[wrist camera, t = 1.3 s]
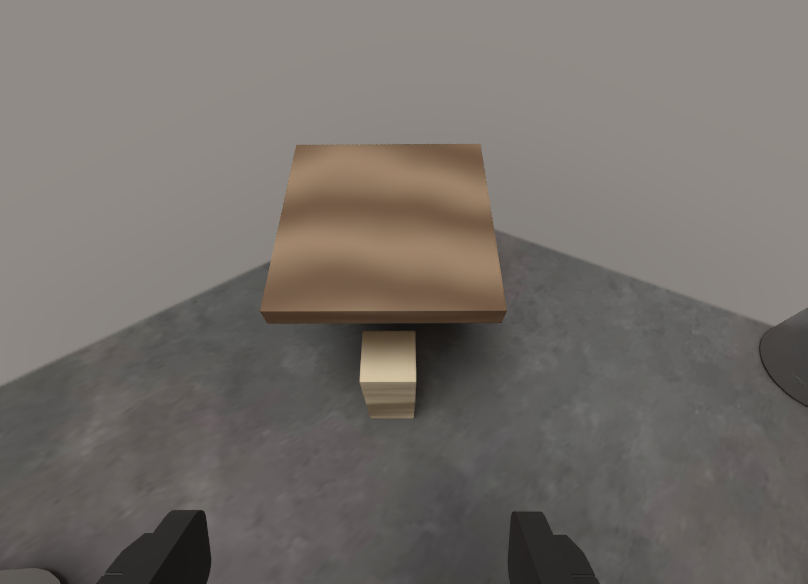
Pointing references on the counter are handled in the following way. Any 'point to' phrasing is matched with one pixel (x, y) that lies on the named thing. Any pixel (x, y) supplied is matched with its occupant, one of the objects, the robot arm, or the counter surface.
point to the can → (27, 576)
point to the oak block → (389, 373)
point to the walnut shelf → (385, 238)
